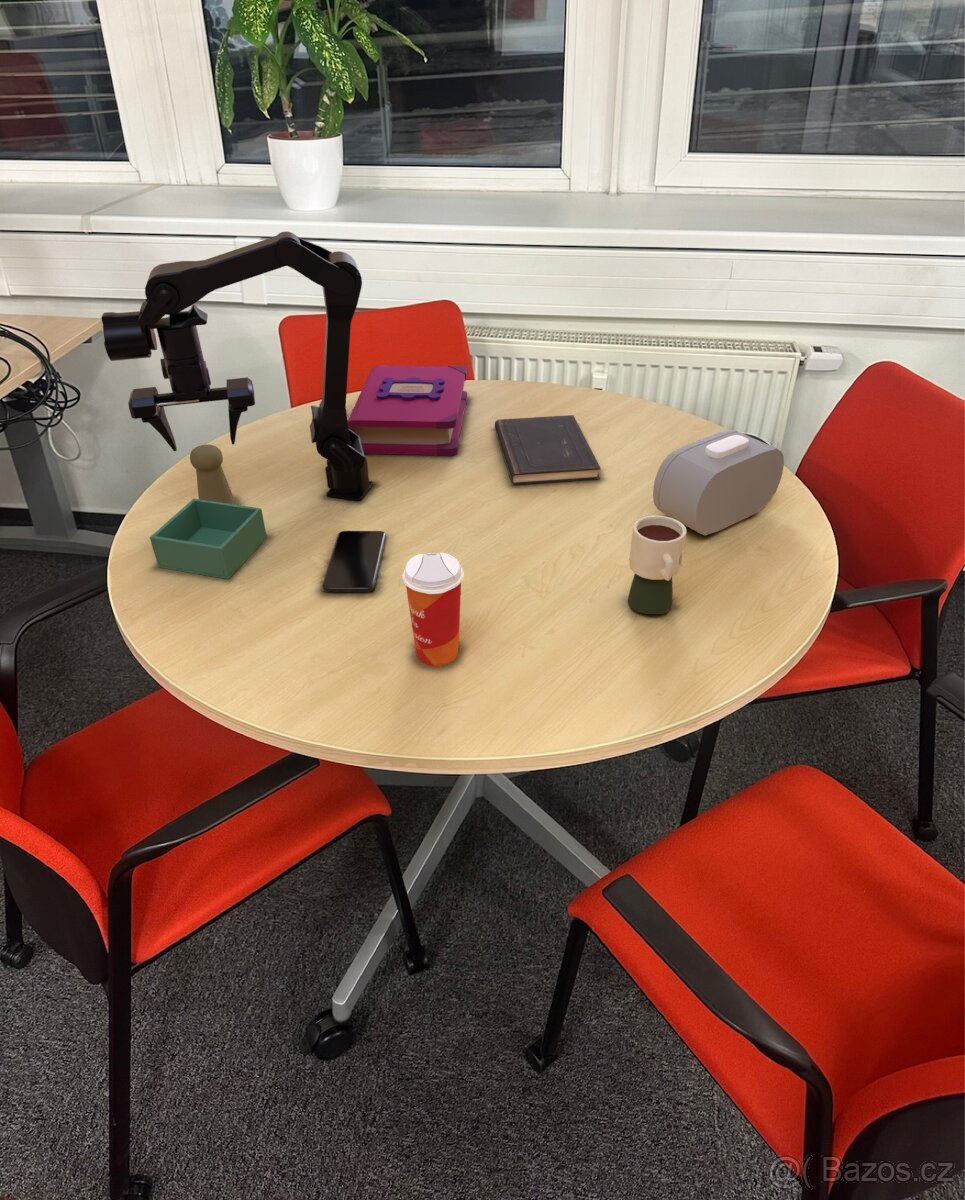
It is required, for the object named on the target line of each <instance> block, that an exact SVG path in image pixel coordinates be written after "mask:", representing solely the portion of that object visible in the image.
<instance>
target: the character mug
mask: <svg viewBox="0 0 965 1200" xmlns="http://www.w3.org/2000/svg"><path fill="white" fill-rule="evenodd" d="M686 527H687V526H686V525H684V524H682V523H681V522H679V521H677V520H675V519H673V518H671V517H670V516H664V515H647V516H643V517H641V518H639V519H638V520H636V521H635V522H634V524H633V526H632V533H631V541H630V547H629V548H630V549H629V558H628V560H629V561H628V563H629V569H630V570H631V571H632V572H633V573H634V575H633V578H632V581H631V585H630V589H629V593H628V597H627V604H628V606H629V608H630V609H632V610H634V611H635V612H638V613H641V614H646V615H664V614H666V613H668V612H669V611H670V610H671V609H672V605H673V576H675V575H677V574H678V573H679V572H680V571H681V569H682V566H683V552H684V550H685V547H686V538H687V528H686Z"/></svg>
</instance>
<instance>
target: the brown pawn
mask: <svg viewBox="0 0 965 1200" xmlns="http://www.w3.org/2000/svg"><path fill="white" fill-rule="evenodd" d="M189 460H190V464H191V466H192V467H193V468H194V469H195V473H196V474H195V475H196V483H197V493H198V494H197V495H198V499H201V500H208V501H215V502H221V503H228V504H235V505H237V504H236V500H235V497H234V495H233V492H232V490H231V487H230V485H229V482H228V479H227V477H226V473H225V471H224V469H223V466H222V464H223V462H224V457H223V452H222V450H221V449H220V448H219V447H218V446H217V445H214V444H200V445H198V446H196V447H194V448H193V449H192V450H191V451H190V454H189Z"/></svg>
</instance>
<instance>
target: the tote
mask: <svg viewBox="0 0 965 1200" xmlns="http://www.w3.org/2000/svg"><path fill="white" fill-rule="evenodd" d="M235 504H236V503H235ZM235 504H228V503H221V502H215V501H208V500H201V499H199V498H192V499H191V500H190V501H189V502H188V503H187V504H186V505H184V506H183V507H182V508H181V509H179V511H177V513H175V514H174V515H173V516H172V517H171V518H170V519H169V520H167V521H166V522H165V523H164V524H163V525H162V526H160V528H159V529H157V530H156V531H155V532H154V533H153V534H151V535H150V537H149V540H150V545H151V547H152V550H153V553H154V557H155V561H156V565H157V567H158V568H159V569H160V568H161V569H166V570H172V571H178V572H183V573H189V574H195V575H201V576H202V575H203V576H207V577H213V578H218V579H224V580H230V579H231V577H233V575H235V573H236V572H237V571H238V570H239V568H241V567H242V566H243V565H244V564H245V562H246V561H247V560H248V559H249V558H250V557H251V556H252V555H253V554H254V553H255V552H256V550H257V549H258V548H260V546H261V545H262V543H264V542H265V540H266V539H267V538H268V536H267V529H266V525H265V521H264V514H263V510H262V508H261V507H254V506H247V505H241V504H236V505H235Z"/></svg>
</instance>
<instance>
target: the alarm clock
mask: <svg viewBox="0 0 965 1200" xmlns="http://www.w3.org/2000/svg"><path fill="white" fill-rule="evenodd" d="M784 465H785V458H784V454H783V452H782V451H781V450H780V449H778V448H776V447H774V446H772V445H770V444H767V443H765V442H763V441H761V440H759V439H756V438H754V437H751V436H749V435H747V434H745V433H742V432H741V431H738V430H736V429H733V428H732V429H726V430H721V431H718V432H716V433H713V434H710V435H708V436H706V437H703V438H700V439H698V440H695V441H693V442H690V443H688V444H685V445H683V446H681V447H679V448H677V449H675V450H673V451H671V452H670V453H669V454H668V455H667V456H666V457H665V458H664V459H663V460H662V462H661V464H660V466H659V467H658V470H657V473H656V474H655V477H654V481H653V487H652V488H653V489H652V491H653V492H652V493H653V494H652V499H653V505H654V506H655V507H656V509H657V511H659V512H661V513H663V514H664V515H666V516H667V517H669V518H673V519H675V520H677V521H679V522H681V523H682V524H683V525H684V526H685V527H688V528H689V529H691V530H693V531H695V532H696V533H697V534H700V535H703V536H704V537H706V536H708V535H710V534H714V533H717V532H720V531H722V530H724V529H726V528H728V527H730V526H733V525H734V524H737V523H739V522H740V521H743V520H745V519H747V518H749V517H751V516H753V515H755V514H757V513H759V511H761V510H763V509H764V508H765V507H766V506H767V505H768V504H769V503H770V502H771V501H772V499H773V497H774V495H775V494H776V492H777V490H778V489H779V485H780V483H781V480H782V476H783V471H784Z"/></svg>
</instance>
